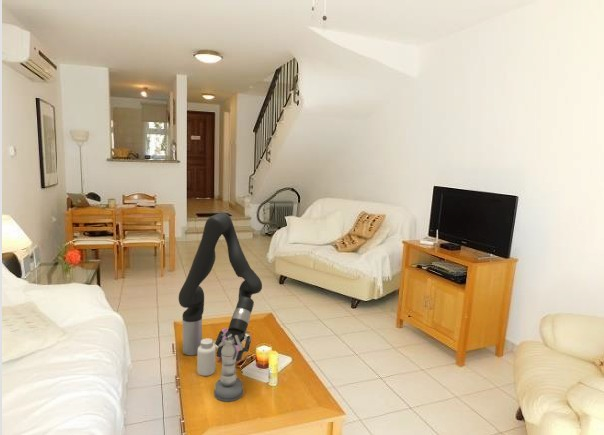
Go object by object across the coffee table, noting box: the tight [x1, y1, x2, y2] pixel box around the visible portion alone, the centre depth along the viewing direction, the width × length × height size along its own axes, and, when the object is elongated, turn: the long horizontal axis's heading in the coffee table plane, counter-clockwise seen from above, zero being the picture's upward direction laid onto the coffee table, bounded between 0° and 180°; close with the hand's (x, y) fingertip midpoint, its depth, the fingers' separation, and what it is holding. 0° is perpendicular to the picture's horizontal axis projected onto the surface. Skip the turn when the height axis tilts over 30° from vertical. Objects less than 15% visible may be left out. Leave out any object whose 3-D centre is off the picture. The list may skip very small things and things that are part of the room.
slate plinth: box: [213, 377, 244, 403], centre depth 172 cm, size 12×12×4 cm
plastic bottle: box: [219, 337, 238, 386], centre depth 171 cm, size 6×7×20 cm
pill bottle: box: [196, 337, 217, 377], centre depth 187 cm, size 8×8×15 cm
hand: (227, 358), depth 169 cm, fingers open, 8 cm apart
